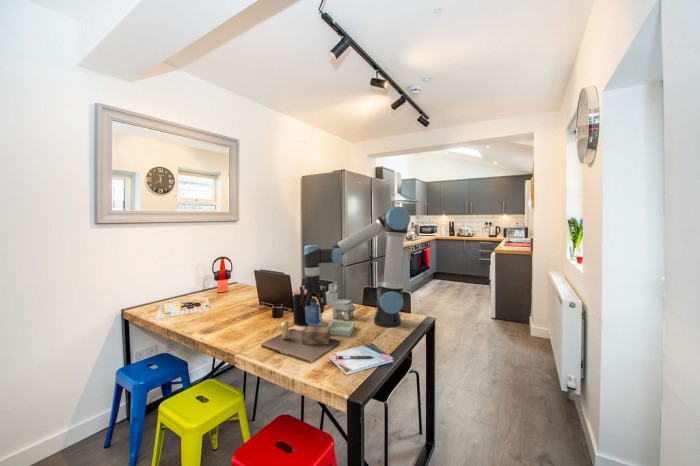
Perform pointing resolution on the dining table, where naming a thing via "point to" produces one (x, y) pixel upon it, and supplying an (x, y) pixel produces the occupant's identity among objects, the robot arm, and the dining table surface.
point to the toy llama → (339, 303)
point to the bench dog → (285, 330)
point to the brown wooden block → (316, 335)
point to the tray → (341, 328)
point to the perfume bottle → (312, 312)
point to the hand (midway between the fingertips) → (313, 318)
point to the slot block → (314, 326)
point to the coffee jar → (299, 308)
